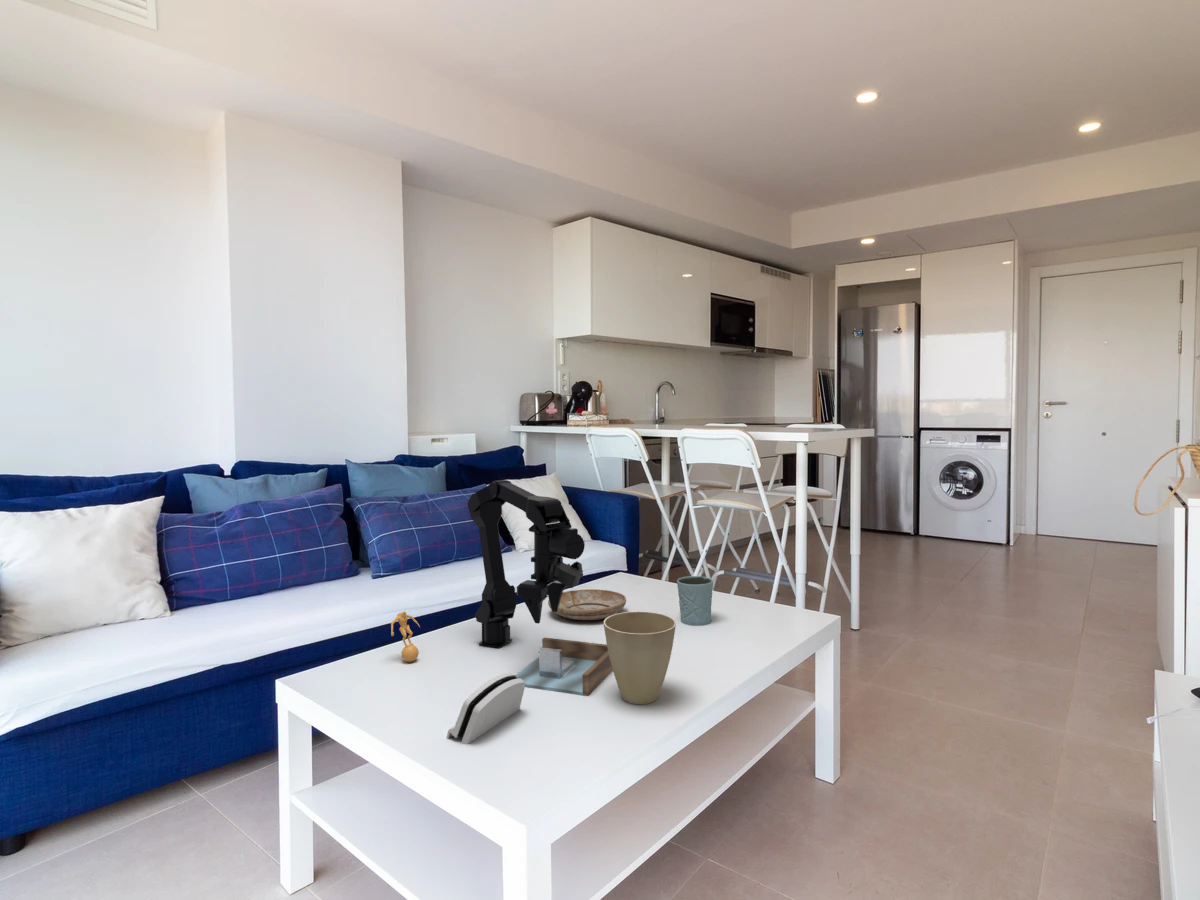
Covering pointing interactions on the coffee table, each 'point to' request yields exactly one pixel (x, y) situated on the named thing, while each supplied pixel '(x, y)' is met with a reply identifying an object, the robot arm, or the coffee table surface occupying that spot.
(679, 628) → the coffee table surface
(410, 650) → the figurine
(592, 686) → the corner arena
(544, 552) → the robot arm
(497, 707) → the grey arched casing
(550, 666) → the aluminium bracket
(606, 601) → the ceramic bowl
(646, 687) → the plant pot
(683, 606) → the embossed green cup
